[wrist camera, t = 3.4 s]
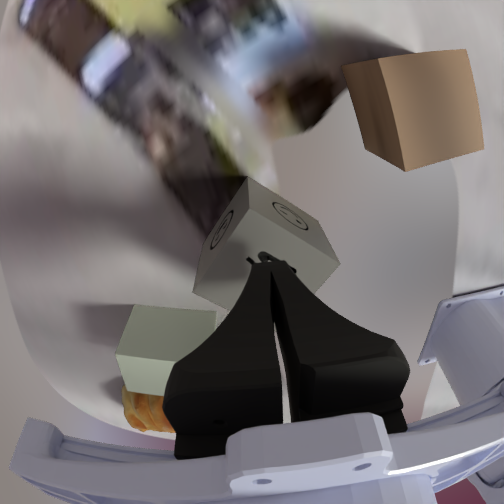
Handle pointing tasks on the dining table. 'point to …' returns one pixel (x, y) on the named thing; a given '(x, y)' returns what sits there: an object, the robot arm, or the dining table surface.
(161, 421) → the pastry
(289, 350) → the robot arm
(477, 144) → the walnut block
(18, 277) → the dining table surface
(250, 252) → the grey symbol cube
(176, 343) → the grey-green block
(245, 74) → the dining table surface
